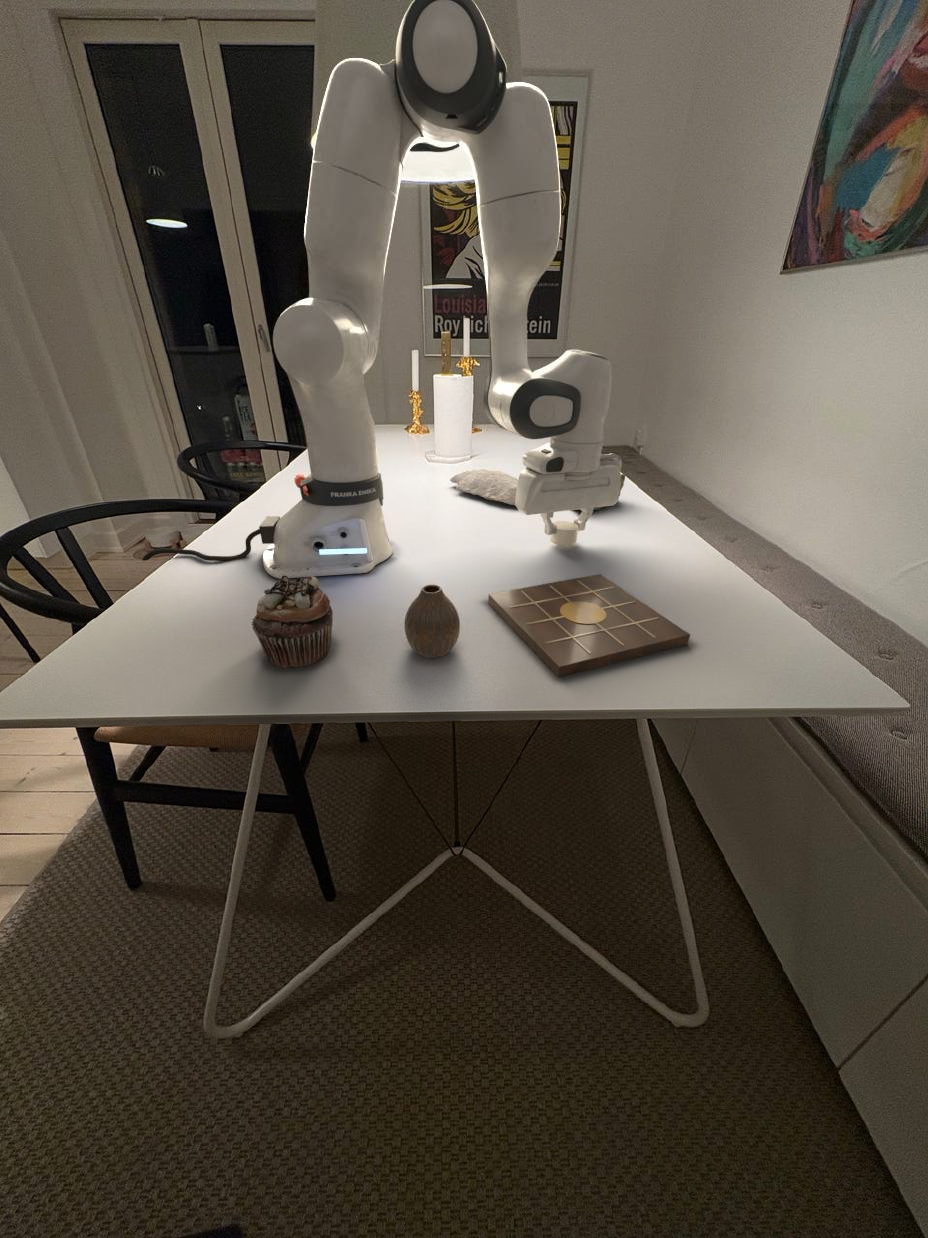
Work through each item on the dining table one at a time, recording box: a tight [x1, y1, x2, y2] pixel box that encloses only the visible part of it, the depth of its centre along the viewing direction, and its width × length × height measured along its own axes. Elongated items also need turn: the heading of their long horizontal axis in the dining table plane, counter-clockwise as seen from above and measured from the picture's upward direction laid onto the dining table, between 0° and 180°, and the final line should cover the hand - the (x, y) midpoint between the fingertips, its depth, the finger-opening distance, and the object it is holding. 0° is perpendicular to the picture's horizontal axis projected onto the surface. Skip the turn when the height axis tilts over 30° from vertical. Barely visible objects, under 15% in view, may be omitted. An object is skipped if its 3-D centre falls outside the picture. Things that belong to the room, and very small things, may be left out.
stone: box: [449, 469, 519, 507], centre depth 124 cm, size 16×6×25 cm
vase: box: [404, 584, 461, 659], centre depth 63 cm, size 7×7×9 cm
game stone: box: [549, 520, 579, 547], centre depth 95 cm, size 5×5×3 cm
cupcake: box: [250, 576, 334, 669], centre depth 62 cm, size 10×10×10 cm
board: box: [487, 573, 691, 678], centre depth 72 cm, size 20×20×2 cm
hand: (564, 531), depth 95 cm, fingers closed on game stone, 5 cm apart
